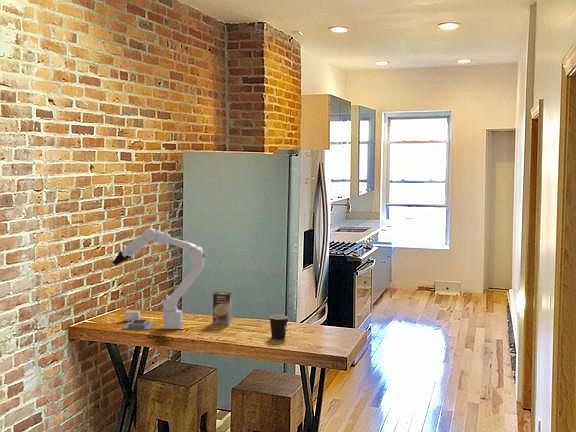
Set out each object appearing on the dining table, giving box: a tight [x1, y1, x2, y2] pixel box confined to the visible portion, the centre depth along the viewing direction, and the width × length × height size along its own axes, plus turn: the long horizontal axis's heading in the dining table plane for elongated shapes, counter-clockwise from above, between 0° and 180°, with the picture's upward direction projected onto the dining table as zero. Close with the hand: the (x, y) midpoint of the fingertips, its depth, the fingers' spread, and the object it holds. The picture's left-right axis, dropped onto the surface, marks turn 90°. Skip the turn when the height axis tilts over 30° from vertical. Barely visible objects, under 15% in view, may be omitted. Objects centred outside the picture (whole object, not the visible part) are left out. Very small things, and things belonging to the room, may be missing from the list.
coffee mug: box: [269, 314, 288, 340], centre depth 314 cm, size 12×9×10 cm
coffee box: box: [211, 291, 233, 326], centre depth 341 cm, size 9×6×16 cm
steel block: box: [124, 310, 141, 322], centre depth 344 cm, size 7×4×5 cm, turn 90°
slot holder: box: [121, 318, 156, 331], centre depth 332 cm, size 14×13×2 cm
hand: (115, 262), depth 329 cm, fingers open, 7 cm apart
